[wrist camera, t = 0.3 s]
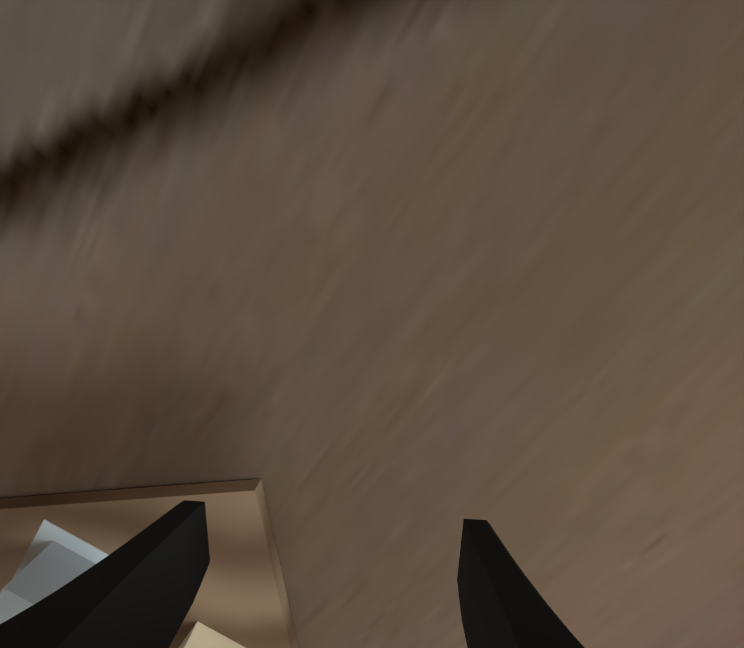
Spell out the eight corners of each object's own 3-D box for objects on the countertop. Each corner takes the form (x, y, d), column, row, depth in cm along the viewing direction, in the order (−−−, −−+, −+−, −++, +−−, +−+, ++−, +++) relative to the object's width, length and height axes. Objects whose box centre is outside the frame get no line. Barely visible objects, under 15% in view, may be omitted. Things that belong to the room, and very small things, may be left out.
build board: (312, 712, 26) (309, 732, 25) (62, 719, 28) (49, 737, 27) (260, 478, 22) (254, 491, 21) (-33, 500, 23) (-53, 513, 22)
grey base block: (105, 653, 24) (67, 711, 22) (17, 606, 24) (-35, 659, 21) (146, 591, 23) (111, 645, 20) (53, 540, 22) (2, 587, 20)
